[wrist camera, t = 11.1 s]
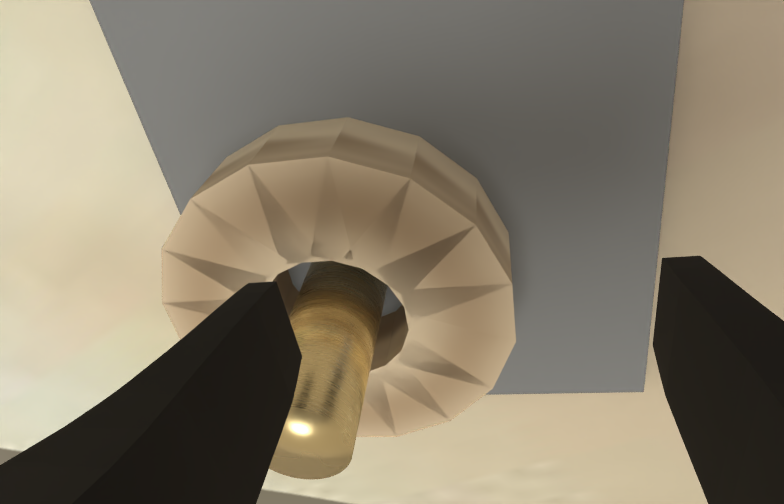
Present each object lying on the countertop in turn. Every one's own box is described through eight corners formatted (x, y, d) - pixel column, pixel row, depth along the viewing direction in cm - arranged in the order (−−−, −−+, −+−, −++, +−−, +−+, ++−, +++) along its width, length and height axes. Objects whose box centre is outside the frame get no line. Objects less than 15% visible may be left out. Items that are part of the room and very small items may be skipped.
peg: (382, 233, 21) (338, 406, 14) (396, 297, 22) (362, 479, 16) (303, 239, 21) (227, 408, 15) (323, 302, 23) (261, 478, 16)
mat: (742, -673, 10) (756, -701, 9) (640, 380, 24) (643, 391, 23) (-60, -389, 13) (-80, -398, 13) (262, 388, 27) (258, 398, 27)
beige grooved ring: (499, 99, 17) (502, 138, 15) (518, 377, 24) (522, 436, 21) (148, 140, 20) (101, 180, 17) (252, 383, 26) (228, 436, 24)
